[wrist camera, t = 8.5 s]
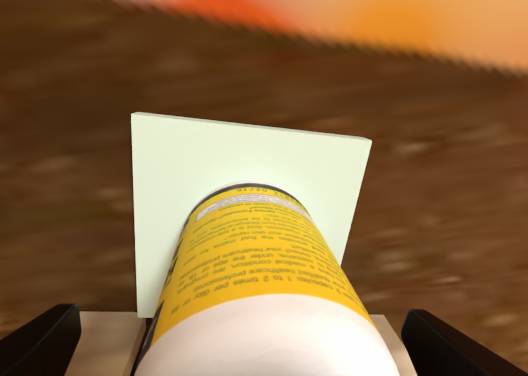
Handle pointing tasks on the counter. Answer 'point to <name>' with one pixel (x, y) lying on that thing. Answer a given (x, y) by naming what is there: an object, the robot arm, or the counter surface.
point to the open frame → (131, 334)
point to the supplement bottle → (258, 296)
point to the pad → (231, 170)
